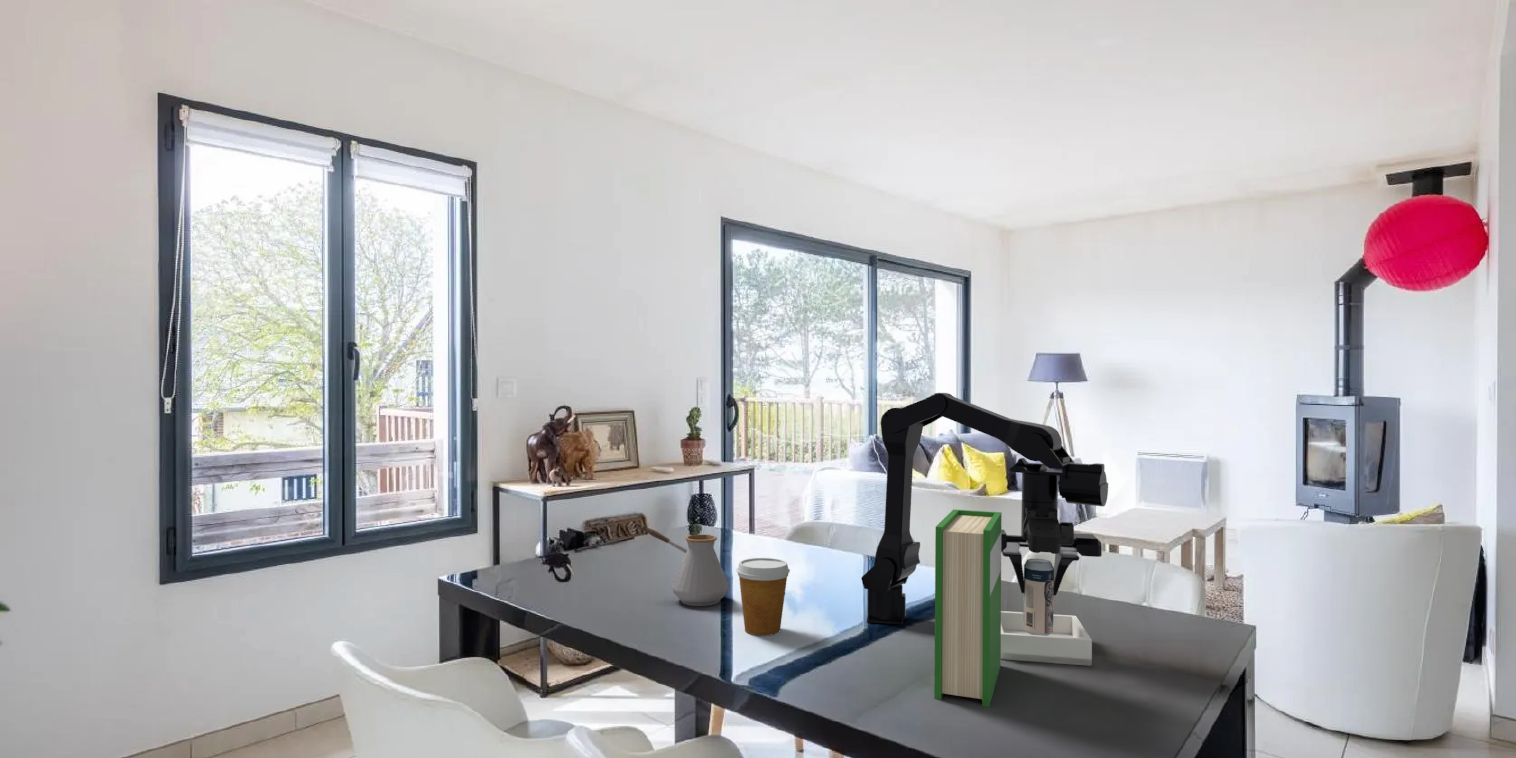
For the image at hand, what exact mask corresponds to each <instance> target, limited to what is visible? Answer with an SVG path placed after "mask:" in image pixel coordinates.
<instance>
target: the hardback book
mask: <svg viewBox="0 0 1516 758" xmlns="http://www.w3.org/2000/svg"><path fill="white" fill-rule="evenodd" d="M1001 530H1002V512H1001V511H1000V512H998V511H986V510H985V511H984V510H971V509H970V510H968V509H967V510H966V509H954V508H953V509H952V510H951V511H950V512H949V513H948V514H947V515H945V517H944V518H943V519H942V520H941V521H939V523H938V524H936V526H935V544H934V545H935V547H934V548H935V549H934V550H935V551H934V552H935V554H934V555H935V556H934V557H935V562H934V564H935V565H934V568H935V569H934V571H935V572H934V574H935V576H934V579H935V582H934V683H933V684H934V687H933V689H934V691H933V692H934V696H933V697H934V698H933V699H934V700H935V699H936V700H939V701H940V700H942V699H943V696H944V694H945V695H952V696H958V697H965V698H972V699H978V700H981V706H982V707H987V708H989V707H990V706H991V701H992V697H993V694H994V690H995V687H996V684H997V680H998V676H999V673H1000V670H1001V666H1002V665H1001V662H1002V661H1001V660H1002V659H1001V611H1002V552H1001Z"/></svg>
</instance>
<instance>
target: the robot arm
mask: <svg viewBox="0 0 1516 758" xmlns="http://www.w3.org/2000/svg"><path fill="white" fill-rule="evenodd" d="M942 417H943V418H946V419H948V420H950V421H954V422H956V423H958V424H961V425H963V426H965V427H967V428H970V429H973V430H975V431H977V432H980V433H983V434H985V435H987V436H990V437H992V438H995V439H997V440H999V441H1000V442H1002V443H1004V444H1005V445H1006V446H1007V447H1009V448H1010V449H1011V451H1014V452H1016V453H1017V454H1018V455H1021V457H1022V458H1021V457H1019V458H1018V460H1017V462H1016V463H1014V465H1012V466H1011V467H1009V469H1008V470H1009V472H1010V473H1018V474H1019V473H1020V474H1021V517H1020V518H1021V521H1020V522H1021V529H1020V531H1021V532H1020V533H1021V534H1020V535H1013V534H1012V535H1011V534H1007V532H1006V531H1005V529H1001V556H1003V557H1004V558H1005V557H1006V558H1007V557H1009V560H1010V562H1011V565H1012V566H1013V567H1012V568H1013V570H1014V573H1015V576H1016V580H1017V584H1018V587H1019V589H1020V590H1019V591H1020V593H1021V594H1024V569H1023V568H1024V567H1023V562H1022V561H1023V559H1022V558H1023V557H1022V556H1023V555H1022V553H1021V550H1020V549H1021V548H1028V550H1029V551H1030V552H1032V553H1033V554H1035V553H1036V554H1040V553H1051V554H1052V555H1054V565H1053V567H1054V596H1057V594H1058V592H1059V589H1060V587H1061V586H1060V585H1061V584H1062V581H1063V578H1064V577H1065V576H1064V575H1065V574H1066V571H1067V569H1068V568H1069V566H1070V565H1071V564H1072V563H1073V562H1075V561H1076V562H1077V561H1079V560H1080V557H1079V556H1080V555H1081V556H1082V557H1092V558H1093V557H1094V558H1096V557H1098V558H1099V557H1100V558H1101V557H1102V553H1103V552H1102V547H1103V546H1102V542H1101V541H1100V540H1099V538H1097V537H1096V536H1095V535H1094V534H1093V533H1081V532H1080V533H1078V532H1076V533H1075V527H1074V526H1075V525H1074V524H1073V522H1069V521H1068V522H1067V521H1066V522H1065V521H1061V522H1060V521H1059V519H1058V517H1059V515H1058V513H1059V512H1058V510H1059V509H1058V508H1059V507H1058V505H1059V500H1058V499H1059V496H1060V497H1061V498H1062V499H1065V502H1066V503H1067V504H1072V505H1073V504H1074V505H1084V506H1095V507H1105V506H1106V504H1107V500H1108V494H1109V493H1108V492H1109V482H1108V481H1107V474H1106V472H1105V464H1104V463H1078V462H1075V461H1074V460H1073V458H1072V457H1071V456H1070V454H1069V453H1068V451H1066V449H1065V448H1064V446H1063V443H1062V441H1063V440H1062V437H1061V435H1060V432H1059V431H1058V430H1057V429H1056V428H1054V427H1053V426H1049V425H1046V424H1041V423H1037V422H1031V421H1024V420H1018V419H1014V418H1009V417H1007V416H1004V415H1002V414H999V413H997V412H994V411H992V410H988V409H986V408H984V407H981V406H978V405H976V404H973V403H971V402H968V401H966V400H963V399H960V398H958V397H955V396H953V395H952V394H950V393H949V392H935V393H933V394H932V395H930V396H928V397H926V398H924V399H921V400H919V401H916V402H913V403H910V404H909V405H906V406H904V407H892V408H889V409H887V410H886V411H885V412H884V413H883V414H882V416H881V419H880V430H881V440H882V443H883V445H884V448H885V451H886V453H887V469H886V470H887V471H886V487H885V488H886V491H885V508H884V509H885V511H884V529H883V533H882V536H881V538H880V540H879V542H878V545H877V547H876V552H875V556H874V560H873V566H872V567H870V569H869V570H868V571H866V573H864V575H862V576H861V582H862V586H863V589H864V590H867V617H866V622H867V623H872V624H873V623H876V624H889V625H890V624H891V625H903V621H904V620H905V619H906V614H907V613H906V612H907V611H906V610H907V609H906V605H907V604H906V601H907V599H906V598H907V597H906V593H904V592H903V588H904V587H903V585H905V584H907V582H908V579H909V576H911V575H912V574H914V573H915V571H916V570H917V565H918V564H921V560H920V555H919V554H920V549H921V542H920V541H914V540H913V537H912V535H911V528H910V527H911V511H912V510H911V509H912V508H911V507H912V490H913V473H914V472H913V468H914V456H915V453H916V452H917V448H918V447H919V444H920V442H921V439H922V433H923V428H924V427H926V426H928V425H931V424H932V423H934V422H935V421H938V420H939V419H941V418H942ZM1027 460H1029V461H1032V462H1028V461H1027ZM1035 462H1037V463H1035ZM1038 462H1040V463H1038ZM1058 493H1059V495H1058ZM1020 547H1021V548H1020ZM1078 554H1079V555H1078Z"/></svg>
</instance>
